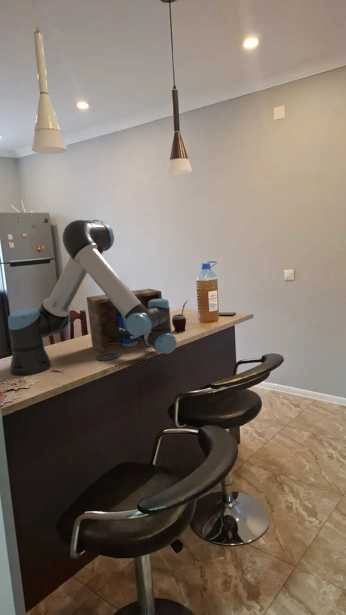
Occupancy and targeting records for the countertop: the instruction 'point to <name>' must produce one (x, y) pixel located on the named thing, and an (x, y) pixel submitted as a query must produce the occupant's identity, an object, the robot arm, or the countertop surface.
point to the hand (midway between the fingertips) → (134, 328)
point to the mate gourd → (179, 321)
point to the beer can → (122, 324)
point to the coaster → (108, 356)
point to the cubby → (111, 316)
